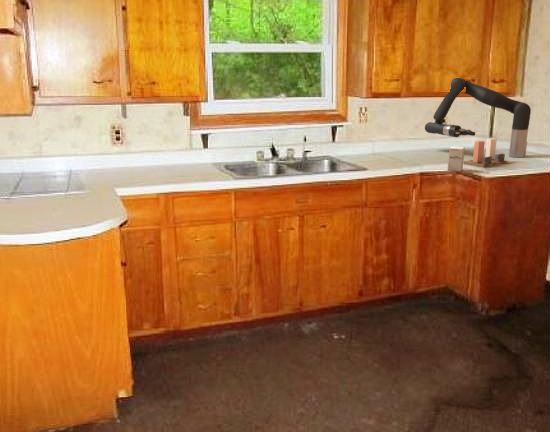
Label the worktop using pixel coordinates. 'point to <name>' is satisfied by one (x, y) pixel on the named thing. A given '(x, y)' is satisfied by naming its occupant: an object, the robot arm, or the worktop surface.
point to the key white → (491, 148)
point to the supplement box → (456, 158)
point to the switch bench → (489, 161)
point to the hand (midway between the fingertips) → (474, 133)
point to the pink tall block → (478, 151)
